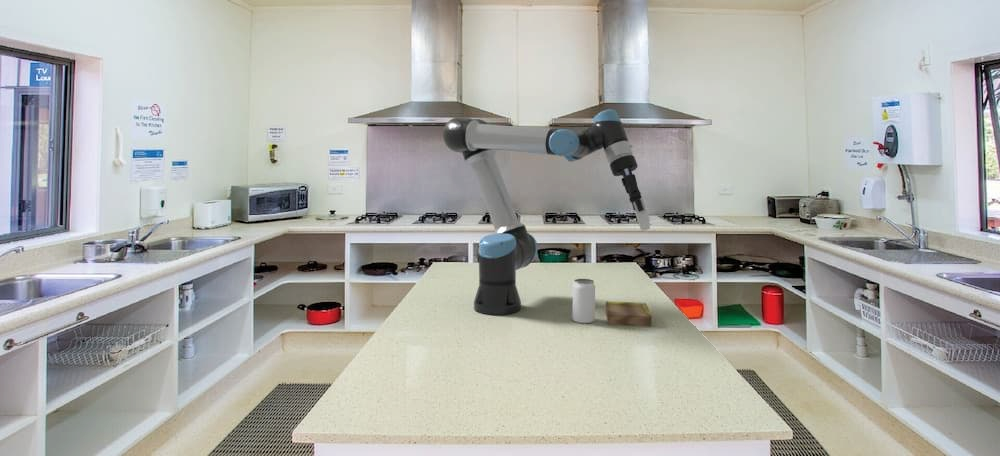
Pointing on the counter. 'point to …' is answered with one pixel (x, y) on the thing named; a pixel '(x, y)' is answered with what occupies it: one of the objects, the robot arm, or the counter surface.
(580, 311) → the can
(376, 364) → the counter surface
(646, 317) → the dock
